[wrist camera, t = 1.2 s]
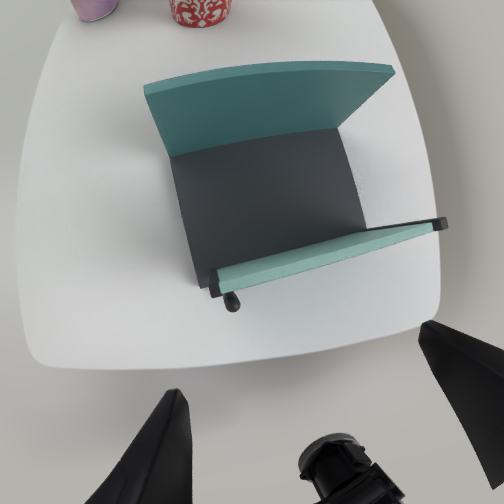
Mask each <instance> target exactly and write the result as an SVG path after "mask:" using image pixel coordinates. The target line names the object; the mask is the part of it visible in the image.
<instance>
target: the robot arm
mask: <svg viewBox="0 0 504 504" xmlns="http://www.w3.org/2000/svg"><path fill="white" fill-rule="evenodd" d="M418 342H419V345H420V347H421V349H422V351H423V353H424V356H425V358H426V360H427V362H428V364H429V366H430V368H431V371H432V373H433V375H434V376H435V378H436V380H437V381H438V383H439V385H440V387H441V388H442V390H443V392H444V394H445V395H446V397H447V399H448V401H449V402H450V404H451V406H452V408H453V410H454V411H455V413H456V415H457V417H458V419H459V421H460V423H461V424H462V426H463V428H464V430H465V432H466V434H467V436H468V438H469V440H470V442H471V444H472V446H473V448H474V450H475V452H476V455H477V456H478V459H479V461H480V463H481V465H482V467H483V470H484V472H485V474H486V476H487V479H488V481H489V483H490V486H491V488H492V489H493V490H494V489H495V488H497V487H498V486H499V485H501V484H502V483H503V482H504V350H502V349H500V348H498V347H495V346H493V345H491V344H488V343H486V342H483V341H481V340H479V339H476V338H474V337H472V336H469V335H467V334H464V333H462V332H459V331H457V330H455V329H452V328H450V327H448V326H445V325H443V324H440V323H438V322H435V321H433V320H429V321H426V322H424V323H422V325H421V328H420V333H419V339H418ZM326 445H327V446H326ZM364 451H365V448H364V447H363V446H359V445H357V444H351V443H344V442H343V443H338V442H332V441H326V442H324V443H323V445H322V446H321V447H320V449H319V450H318V452H317V453H316V454H315V456H314V457H313V458H312V460H311V461H310V462H309V464H308V465H307V466H306V468H305V469H304V470H303V472H302V473H301V474H300V478H301V479H302V480H310V481H312V483H313V485H314V487H315V489H316V491H317V493H318V494H319V497H320V499H321V501H319V502H317V503H314V504H403V502H402V501H401V499H402V498H403V497H405V495H404V493H403V492H402V491H401V490H400V488H399V487H398V486H397V485H396V484H395V483H394V482H393V480H392V479H391V478H390V477H389V476H388V475H387V474H386V473H385V472H384V471H383V470H382V469H381V467H380V466H379V465H378V464H377V463H376V462H375V463H374V464H373V465H372V466H371V463H372V461H371V460H370V459H369V457H368V456H367V455H366V454H365V453H364ZM85 504H193V503H192V434H191V425H190V415H189V406H188V402H187V400H186V399H185V397H184V396H183V394H182V392H181V391H180V390H179V389H177V388H176V389H169V390H167V391H166V393H165V394H164V396H163V397H162V399H161V400H160V401H159V403H158V404H157V406H156V408H155V409H154V410H153V412H152V413H151V415H150V417H149V418H148V419H147V421H146V422H145V424H144V425H143V427H142V428H141V430H140V431H139V432H138V434H137V435H136V437H135V438H134V440H133V441H132V443H131V444H130V446H129V447H128V449H127V450H126V452H125V453H124V455H123V456H122V458H121V461H119V462H118V463H117V465H116V466H115V468H114V469H113V470H112V472H111V473H110V474H109V476H108V477H107V478H106V479H105V481H104V482H103V483H102V484H101V486H100V487H99V488H98V489H97V490H96V491H95V492H94V493H93V495H92V496H91V497H90V498H89V499H88V500H87V501H86V502H85Z"/></svg>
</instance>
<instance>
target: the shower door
mask: <svg viewBox="0 0 504 504" xmlns="http://www.w3.org/2000/svg"><path fill="white" fill-rule="evenodd" d="M430 232H433V226H432V223H424V224H416V225H409V226H401V227H394V228H387V229H380V230H372V231H365V232H358V233H353V234H350V235H346V236H342V237H339V238H335V239H331V240H327V241H324V242H320V243H316V244H312V245H309V246H305V247H301V248H297V249H293V250H290V251H286V252H282V253H278V254H274V255H271V256H267V257H263V258H259V259H255V260H251V261H248V262H244V263H240V264H236V265H232V266H228V267H225V268H221V269H217V270H216V269H212V270H210V272H209V280H208V287H209V290H210V294H211V297H212V298H216V297H220V296H222V295H223V299H224V303H225V307H226V309H227V310H228V311H230V312H236V311H238V310H239V308H240V301H239V300H238V298H237V296H236V294H235V293H234V291H235V290H239V289H242V288H246V287H250V286H254V285H257V284H261V283H265V282H268V281H272V280H275V279H279V278H283V277H286V276H290V275H293V274H297V273H300V272H304V271H307V270H311V269H314V268H317V267H321V266H324V265H328V264H331V263H334V262H338V261H341V260H344V259H348V258H351V257H354V256H358V255H361V254H364V253H367V252H371V251H374V250H377V249H380V248H383V247H387V246H390V245H393V244H396V243H399V242H402V241H405V240H408V239H412V238H415V237H418V236H421V235H424V234H427V233H430Z"/></svg>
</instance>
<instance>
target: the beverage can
mask: <svg viewBox="0 0 504 504" xmlns="http://www.w3.org/2000/svg"><path fill="white" fill-rule="evenodd" d="M71 2H72V4H73V6H74V9H75V11H76V13H77V15H78V17H79V19H81V20H83V21H87V22H91V21H96V20H99V19H101V18H103V17H105V16H107V15H108V14H109V13H111V12H112V11H113V10H114V8H115V7H116V5H117V2H118V0H71Z"/></svg>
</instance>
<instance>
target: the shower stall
mask: <svg viewBox="0 0 504 504" xmlns="http://www.w3.org/2000/svg"><path fill="white" fill-rule="evenodd" d="M395 74H396V73H395V71H394V69H393V67H392V65H385V64H376V63H363V62H346V61H292V62H275V63H262V64H252V65H243V66H235V67H228V68H221V69H215V70H209V71H204V72H198V73H193V74H188V75H183V76H179V77H174V78H170V79H166V80H162V81H158V82H154V83H151V84H147V85H144V86H143V87H144V95H145V98H146V100H147V103H148V105H149V108H150V111H151V113H152V116H153V118H154V121H155V123H156V125H157V128H158V130H159V133H160V135H161V138H162V140H163V143H164V145H165V147H166V150H167V152H168V155H169V157H170V162H171V167H172V172H173V177H174V182H175V186H176V191H177V196H178V200H179V205H180V209H181V213H182V218H183V222H184V226H185V231H186V235H187V239H188V243H189V247H190V251H191V255H192V259H193V263H194V267H195V271H196V274H197V278H198V282H199V286H200V289H202V288H206V287H208V280H209V272H210V270H212V269H216V270H217V269H221V268H225V267H228V266H232V265H236V264H240V263H244V262H248V261H251V260H255V259H259V258H263V257H267V256H271V255H274V254H278V253H282V252H286V251H290V250H293V249H297V248H301V247H305V246H309V245H312V244H316V243H320V242H324V241H327V240H331V239H335V238H339V237H342V236H346V235H350V234H353V233H358V232H365V231H372V230H380V229H387V228H394V227H401V226H409V225H416V224H424V223H432V226H433V231H440V230H444V229H447V228H448V223H447V219H446V217H441V218H434V219H427V220H421V221H414V222H408V223H401V224H394V225H388V226H381V227H375V228H368V229H367V228H366V224H365V219H364V215H363V211H362V208H361V204H360V200H359V196H358V192H357V189H356V185H355V182H354V178H353V175H352V172H351V168H350V165H349V162H348V159H347V155H346V152H345V149H344V146H343V143H342V140H341V137H340V134H339V131H338V127H339V126H340V125H341V124H342V123H343V122H344V121H345V120H346V119H347V118H348V117H349V116H350V115H351V114H352V113H353V112H354V111H356V110H357V109H358V108H359V107H360V106H361V105H362V104H363V103H364V102H365V101H366V100H367V99H368V98H369V97H371V96H372V95H373V94H374V93H375V92H376V91H377V90H378V89H379V88H380V87H381V86H382V85H384V84H385V83H386V82H387V81H388V80H389V79H390V78H391V77H392V76H393V75H395Z"/></svg>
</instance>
